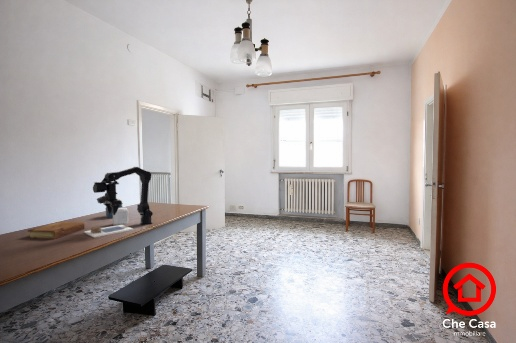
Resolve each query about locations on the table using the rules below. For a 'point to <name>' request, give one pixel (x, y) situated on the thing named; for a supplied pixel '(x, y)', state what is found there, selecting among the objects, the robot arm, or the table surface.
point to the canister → (111, 211)
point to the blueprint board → (107, 230)
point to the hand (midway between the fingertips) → (111, 214)
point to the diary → (56, 230)
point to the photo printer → (120, 216)
